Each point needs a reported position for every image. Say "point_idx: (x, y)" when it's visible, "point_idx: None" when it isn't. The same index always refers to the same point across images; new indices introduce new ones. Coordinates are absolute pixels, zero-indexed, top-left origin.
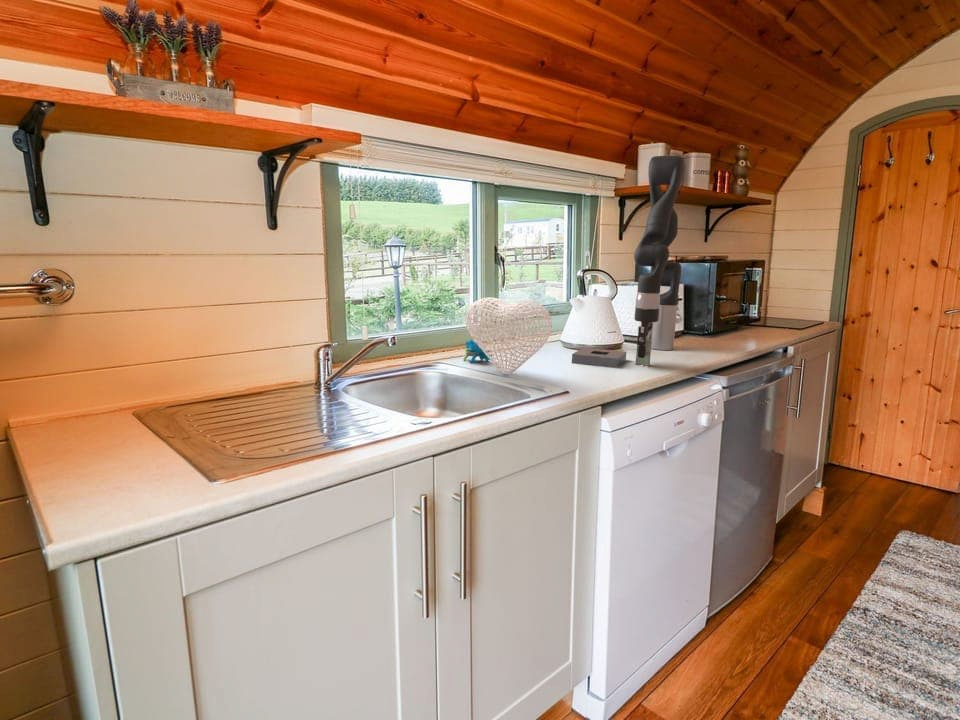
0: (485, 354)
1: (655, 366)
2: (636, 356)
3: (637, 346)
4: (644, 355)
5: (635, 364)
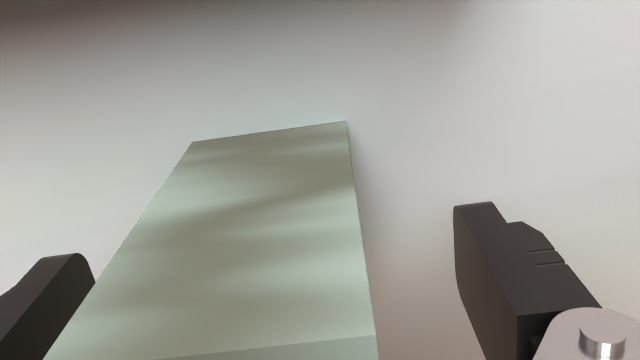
0: None
1: None
2: (160, 197)
3: (93, 300)
4: None
5: (190, 146)
